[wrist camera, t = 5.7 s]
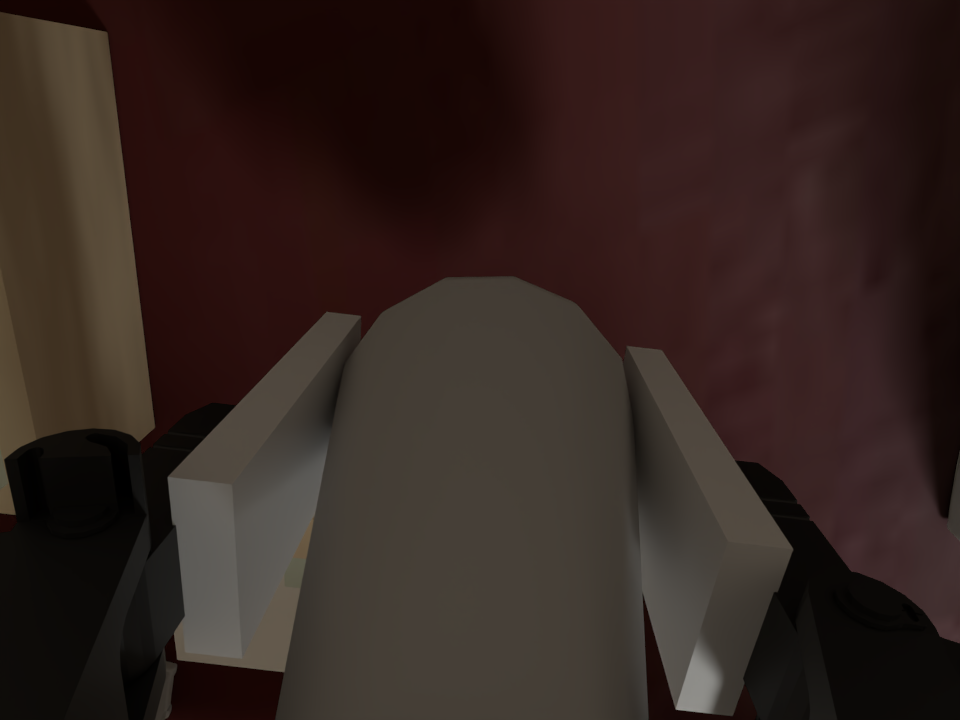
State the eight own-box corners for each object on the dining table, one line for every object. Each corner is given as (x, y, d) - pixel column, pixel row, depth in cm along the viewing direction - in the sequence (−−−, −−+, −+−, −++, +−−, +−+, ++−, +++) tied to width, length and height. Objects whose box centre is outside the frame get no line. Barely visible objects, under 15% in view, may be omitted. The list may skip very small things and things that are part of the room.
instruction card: (499, 503, 21) (498, 512, 21) (473, 685, 25) (473, 696, 24) (159, 464, 21) (152, 472, 21) (182, 651, 25) (175, 661, 24)
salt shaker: (378, 478, 16) (-90, 1736, 3) (352, 256, 13) (-1081, 1468, 1) (609, 476, 15) (995, 1871, 3) (619, 247, 13) (1943, 1792, 1)
